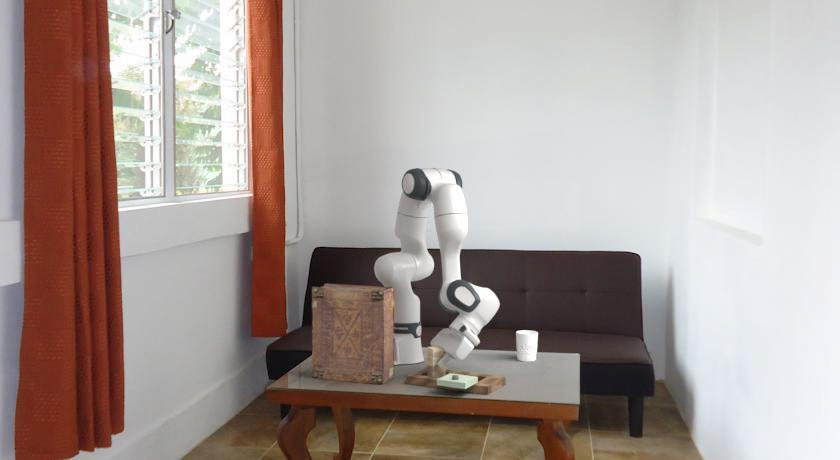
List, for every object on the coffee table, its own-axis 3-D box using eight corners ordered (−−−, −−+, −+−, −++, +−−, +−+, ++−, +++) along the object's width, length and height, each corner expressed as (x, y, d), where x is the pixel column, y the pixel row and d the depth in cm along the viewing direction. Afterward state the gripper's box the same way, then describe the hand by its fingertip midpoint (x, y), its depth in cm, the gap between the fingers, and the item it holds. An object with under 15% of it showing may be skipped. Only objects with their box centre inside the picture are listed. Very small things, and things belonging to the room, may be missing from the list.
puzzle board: (406, 383, 272) (406, 375, 272) (427, 374, 284) (427, 367, 284) (487, 394, 259) (487, 386, 259) (505, 384, 271) (505, 376, 271)
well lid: (436, 385, 259) (436, 376, 259) (449, 378, 267) (450, 370, 267) (465, 389, 255) (465, 379, 254) (477, 382, 262) (477, 373, 262)
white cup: (532, 363, 302) (532, 335, 301) (511, 360, 306) (512, 332, 305) (541, 359, 308) (541, 331, 308) (521, 356, 312) (521, 329, 312)
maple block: (432, 383, 272) (432, 349, 271) (427, 380, 276) (427, 346, 275) (445, 382, 274) (445, 348, 273) (440, 379, 278) (440, 345, 277)
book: (311, 378, 279) (311, 286, 277) (324, 371, 288) (323, 283, 286) (383, 384, 271) (383, 290, 268) (394, 378, 279) (394, 287, 277)
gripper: (443, 319, 286) (416, 350, 283) (469, 330, 267) (440, 363, 264) (455, 332, 288) (428, 363, 285) (482, 343, 269) (453, 376, 266)
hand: (434, 363), depth 274 cm, fingers closed on maple block, 4 cm apart
